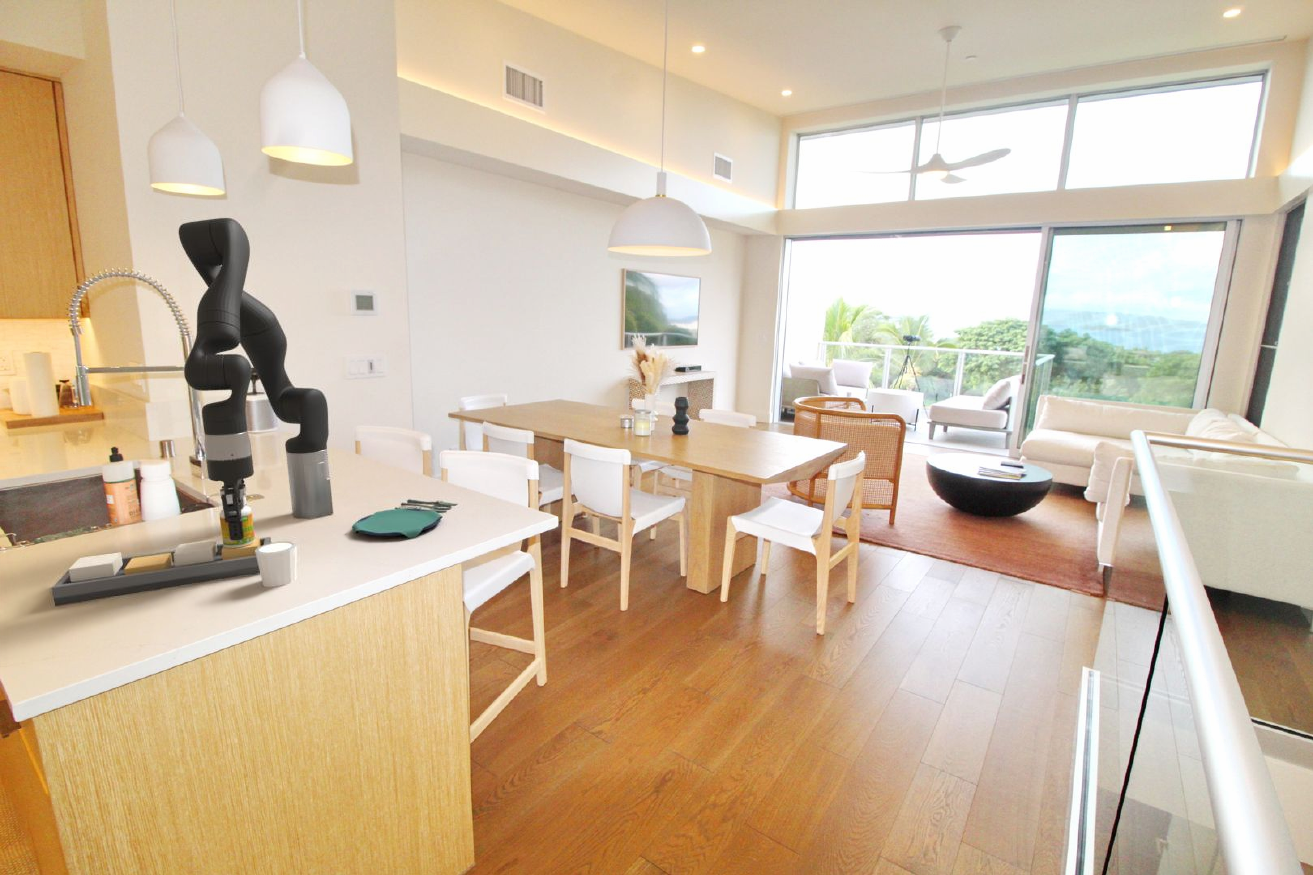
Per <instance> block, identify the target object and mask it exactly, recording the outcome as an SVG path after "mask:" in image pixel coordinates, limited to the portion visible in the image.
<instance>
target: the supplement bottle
mask: <svg viewBox="0 0 1313 875" xmlns="http://www.w3.org/2000/svg"><path fill="white" fill-rule="evenodd" d="M246 498H247V496H246V497H244V509H243V510H242V517H243V519H242V526H243V534H244V537H243V539H241V540H234V541H232V540H231V539H230V534H229V526H228V523H226V522H225V520H224V518H225V516H224V510H223V509H221V510H220V512H219V523H220V529H221V537H222V544H223V545H224V547H226V548H239V547H244V546H248V545H250V544H252V543H253V542H254V541H255V530H254V529H255V528H254V522H253V521H254V520H253V513H252V509H251V507H250V506H247V505H246V504H247V500H246ZM239 505H240V503H239ZM245 505H246V506H245ZM221 506H222V507H223V504H222V503H221ZM234 515H237V513H236V511H231V512H230V516H234Z"/></svg>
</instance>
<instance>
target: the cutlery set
mask: <svg viewBox="0 0 1313 875" xmlns="http://www.w3.org/2000/svg"><path fill="white" fill-rule="evenodd" d="M434 504H435V505H434ZM430 505H431V506H430ZM457 505H458V503H451V502H446V501H443V500H440V501H439V500H436V501H424V500H423V501H422V500H417V499H410V498H408V499H407V500H406V502H401V503H400V506H403V507H405V508H403V507H397V506H396V507H394V509H386V510H385V509H384V510H381V511H377V512H373V513H372V514H370V515H368V516H364V517H362V518H360V519H359V520H357V521H355V523H354V524H352V526H351V528H352V530H353V531H354V532H355V534H358V533H362V534H365V535H368V536H375V537H376V536H377V537H392V536H393V537H395V536H406V537H407V538H408V539H413V538H416V537H417V536H419V535H420V533H421V532H422V531H425V530H429V529H431V528H432V527H435V526H437V525H438V524H439V523H440V522H442V519H443V518H444V517H443V515H442V514H440V513H447V510H449V509H451V508H453V506H454V507H456V506H457ZM407 506H410V507H407ZM406 507H407V508H406ZM411 507H412V508H411ZM428 508H430V509H428Z"/></svg>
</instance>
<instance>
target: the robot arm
mask: <svg viewBox="0 0 1313 875" xmlns="http://www.w3.org/2000/svg"><path fill="white" fill-rule="evenodd" d="M178 237H179V242H180V244H181V246H182V248H183V250H184V252H185V254H186V256H187V257H188V258H187V259H189V261H190V262H191V264H192V265H193V267H194V269H195V270H196V272H197V273H198V274H199V276H200V278H202V280H203V281H204V283H205V284H206V286H207V287H208V288H207V289H206V290H205V292H204V293H203V295H202V297H201V298H200V301H199V303H198V305H197V310H196V311H197V312H196V336H195V339H194V343H193V345H192V347H191V350H190V352H189V355H188V357H187V359H186V362H185V364H184V370H183V374H184V379H185V381H186V383H187V384H188V386H190V387H191V388H192V389H194V390H196V391H200V392H202V391H203V392H204V391H205V392H207V391H209V392H210V391H211V392H212V391H231V392H230V395H229V397H228V398H227V399H223V400H221V401H220V400H219V401H215V402H210V403H207V404H205V405H203V407H201V408H202V409H201V419H202V424H203V433H204V442H203V443H204V444H203V445H204V453H205V454H204V455H205V462H206V468H207V478H208V479H209V480H210V481H213V482H223V485H222V486H221V488H220V489H219V491H220V492H219V493H220V494H219V495H220V499H221V505H222V504H223V506H222V510H224V516H225V518H224V520H225V522H226V523H228V526H229V534H230V539H231V540H232V541H234V540H241V539H243V537H244V534H243V526H242V519H243V517H242V510H243V509H244V497H246V501H247V494H246V493H247V484H246V483H245V480H244V479H247V478H251V477H252V476H253V475H254V473H255V471H254V463H253V462H254V461H253V454H252V452H253V451H252V444H251V438H250V436H249V431H248V423H247V412H246V410H247V408H246V406H247V396H248V391H249V387H250V383H251V379H252V374H253V370H252V367H253V369H254V371H255V372H256V375H257V376H258V379H259V380H260V383H261V385H262V387H263V390H264V392H265V394H266V397H267V399H268V402H269V404H270V406H271V408H272V411H273V413H274V414H275V416H276V417H277V418H278V419H279V420H280V421H281V422H283V423H286V424H293V425H294V424H295V425H299V433H298V435H296V436H294V437H290V438H288V439H286V441H285V443H284V444H285V454H286V464H287V475H288V483H289V492H290V502H291V512H292V517H293V518H294V519H300V520H302V519H303V520H304V519H305V520H306V519H314V518H315V519H316V518H321V517H325V516H329V515H333V514H334V507H333V505H334V504H333V496H332V485H331V484H332V483H331V476H330V466H329V456H328V454H329V453H328V445H327V444H328V439H329V434H330V431H329V406H328V402H327V398H326V396H325V394H324V393H323V391H321V390H320V389H318V388H312V387H295V385H293V383H292V382H291V380H290V378H289V376H288V373H287V371H286V368H285V361H286V355H287V349H288V342H287V336H286V334H285V332H284V330H283V327H282V326H281V324H280V322H279V320H278V318H277V316H276V314H275V313H274V311H272V310H271V309H270V307H269V306H267V305H265V304H264V303H263V302H261V301H260V300H259V299H257V298H256V297H254V296H252V295H251V294H249V293H248V292H247V291H245V290H244V286H245V284H246V283H245V282H246V278H247V274H248V273H247V272H248V269H249V261H250V254H251V246H250V241H249V237H248V235H247V233H246V230H245V229H244V227H243V226H242V225H241V224H240V223H239V221H237V220H235V218H234V219H233V218H231V217H219V218H218V217H217V218H210V219H203V220H202V219H201V220H197V221H189V222H184V223H182V224H180V226H179V228H178ZM239 345H240V346H241V348H242V349H243V351H244V352H245V353H246V356H247V357H245V356H243V355H242V354H239V353H226V354H225V352H228V351H233V350H235V349H237V348H238V346H239ZM223 352H224V353H223ZM221 353H223V354H221ZM248 359H249V360H248ZM239 503H240V505H239ZM245 506H247V503H246V505H245ZM231 511H236V513H237V515H234V516H230V512H231Z"/></svg>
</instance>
